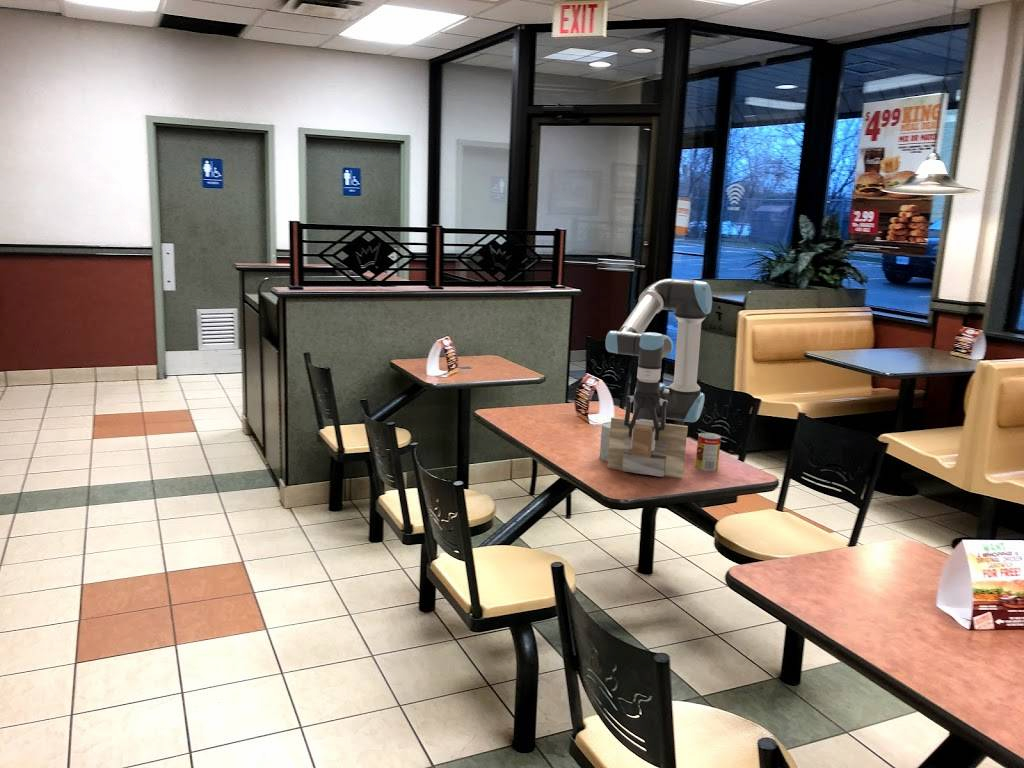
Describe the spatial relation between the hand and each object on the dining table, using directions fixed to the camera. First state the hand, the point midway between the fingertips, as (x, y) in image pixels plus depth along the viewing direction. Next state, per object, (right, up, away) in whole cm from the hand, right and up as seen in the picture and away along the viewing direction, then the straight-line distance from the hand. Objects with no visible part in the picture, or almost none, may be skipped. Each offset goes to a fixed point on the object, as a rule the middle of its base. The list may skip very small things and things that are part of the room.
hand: (642, 448), depth 276 cm
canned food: (+26, -9, +21) cm, 34 cm away
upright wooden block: (0, -2, +2) cm, 2 cm away
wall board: (+2, -10, +9) cm, 14 cm away
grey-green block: (-7, -6, +27) cm, 28 cm away
